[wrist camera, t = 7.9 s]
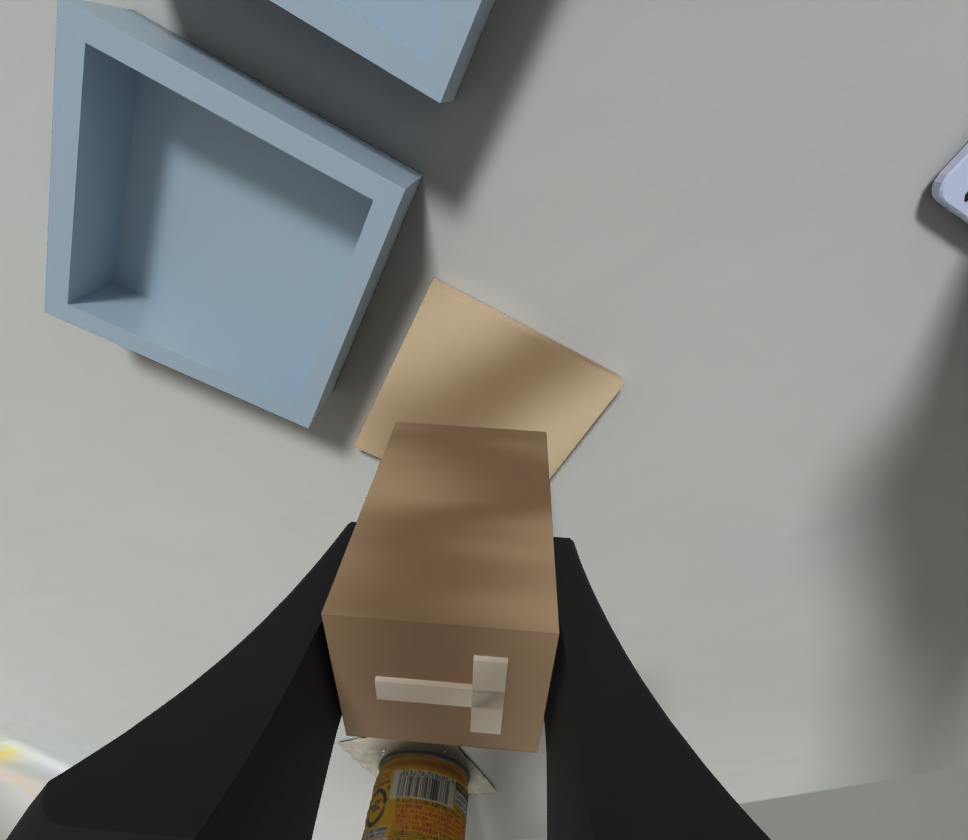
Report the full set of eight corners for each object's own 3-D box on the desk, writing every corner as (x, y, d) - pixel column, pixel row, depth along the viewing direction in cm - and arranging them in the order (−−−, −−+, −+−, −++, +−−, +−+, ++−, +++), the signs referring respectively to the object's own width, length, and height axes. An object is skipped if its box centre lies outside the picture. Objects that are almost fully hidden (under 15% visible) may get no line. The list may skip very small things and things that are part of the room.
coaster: (620, 376, 18) (623, 384, 17) (518, 509, 21) (518, 519, 21) (433, 277, 16) (431, 283, 16) (357, 437, 20) (353, 446, 19)
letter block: (546, 431, 14) (559, 639, 8) (533, 540, 16) (536, 757, 11) (395, 421, 14) (318, 619, 9) (403, 530, 16) (345, 740, 11)
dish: (422, 175, 15) (405, 189, 12) (333, 390, 19) (308, 428, 16) (133, 9, 13) (57, -6, 11) (104, 284, 17) (44, 312, 15)
